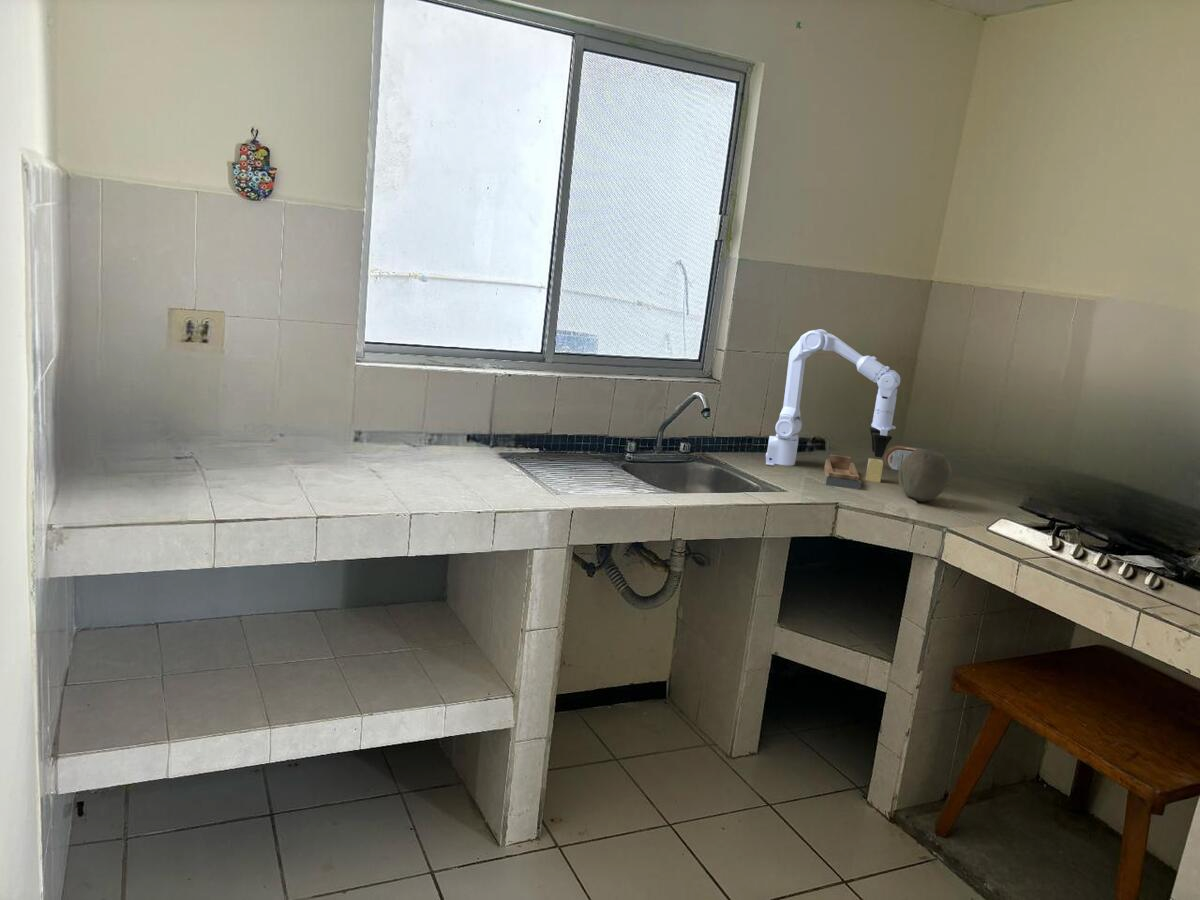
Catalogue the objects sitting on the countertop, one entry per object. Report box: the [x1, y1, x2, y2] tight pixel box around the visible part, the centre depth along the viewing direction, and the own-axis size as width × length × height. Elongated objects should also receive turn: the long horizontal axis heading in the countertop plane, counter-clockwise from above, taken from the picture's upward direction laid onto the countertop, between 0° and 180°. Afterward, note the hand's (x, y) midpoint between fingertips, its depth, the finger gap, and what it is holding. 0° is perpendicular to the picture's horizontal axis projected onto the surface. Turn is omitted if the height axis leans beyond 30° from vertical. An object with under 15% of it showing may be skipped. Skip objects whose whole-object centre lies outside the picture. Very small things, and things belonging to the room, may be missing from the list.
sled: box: [823, 454, 860, 481], centre depth 285 cm, size 9×20×5 cm, turn 170°
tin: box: [883, 445, 922, 472], centre depth 305 cm, size 15×3×8 cm, turn 84°
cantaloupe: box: [897, 448, 953, 503], centre depth 269 cm, size 14×14×15 cm
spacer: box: [865, 457, 884, 483], centre depth 286 cm, size 4×4×7 cm
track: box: [824, 475, 863, 490], centre depth 287 cm, size 11×29×3 cm, turn 170°
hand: (877, 454), depth 285 cm, fingers open, 7 cm apart
